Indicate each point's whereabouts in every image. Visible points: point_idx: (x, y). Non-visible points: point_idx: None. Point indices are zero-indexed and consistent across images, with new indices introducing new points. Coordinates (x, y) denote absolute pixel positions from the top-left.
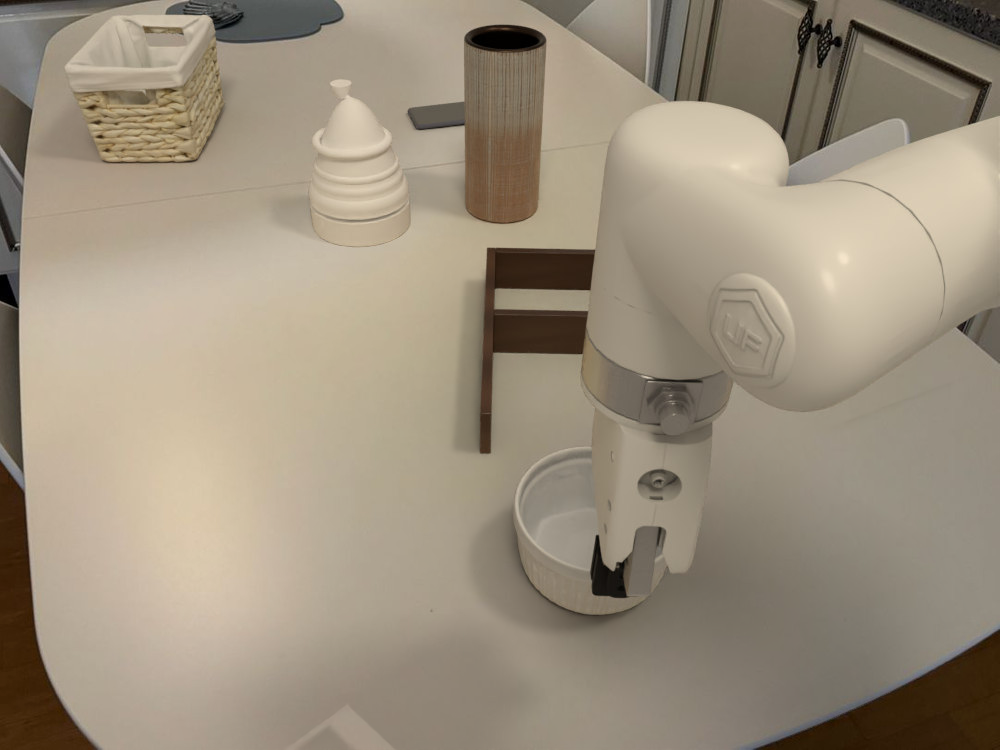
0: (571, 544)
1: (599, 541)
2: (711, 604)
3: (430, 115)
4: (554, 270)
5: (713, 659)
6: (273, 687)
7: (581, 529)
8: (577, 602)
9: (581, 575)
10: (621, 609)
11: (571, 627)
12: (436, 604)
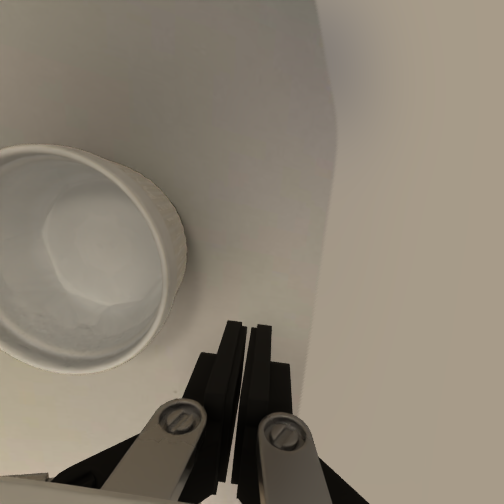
0: (96, 264)
1: (216, 490)
2: (170, 113)
3: None
4: None
5: (242, 132)
6: None
7: (74, 249)
8: (180, 283)
9: (167, 311)
10: (183, 230)
11: (196, 275)
12: (169, 387)
